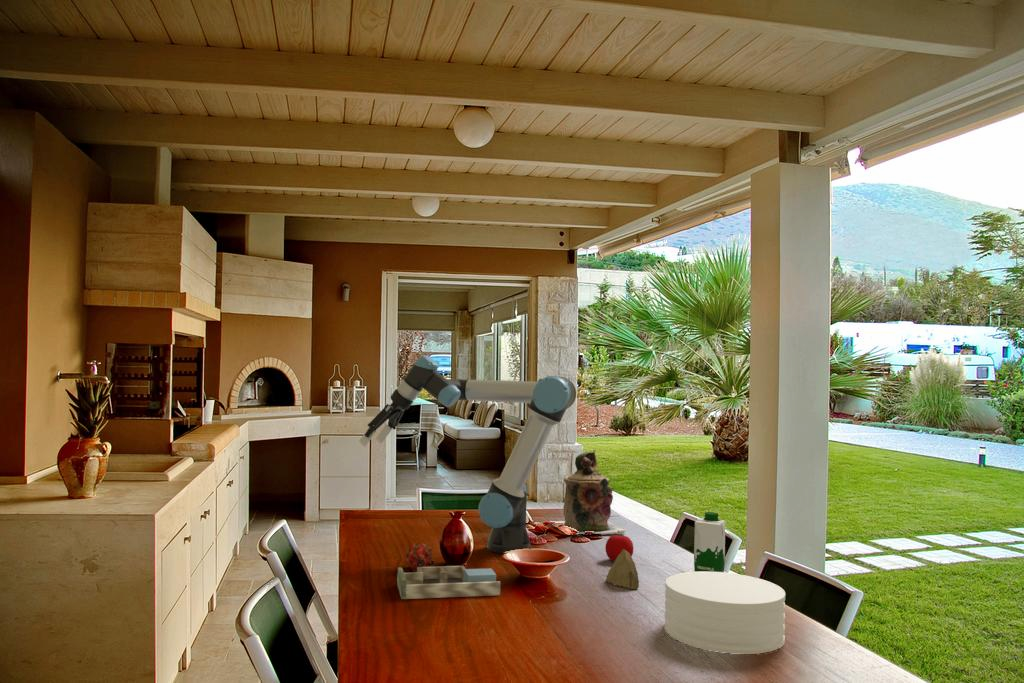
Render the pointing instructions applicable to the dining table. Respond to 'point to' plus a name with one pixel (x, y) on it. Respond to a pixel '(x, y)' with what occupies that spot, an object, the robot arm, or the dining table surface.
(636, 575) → the rock
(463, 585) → the tray
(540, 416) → the robot arm
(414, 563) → the dragon fruit
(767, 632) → the plate stack
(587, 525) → the cookie jar
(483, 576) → the block
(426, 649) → the dining table surface
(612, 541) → the fruit
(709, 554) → the milk carton
